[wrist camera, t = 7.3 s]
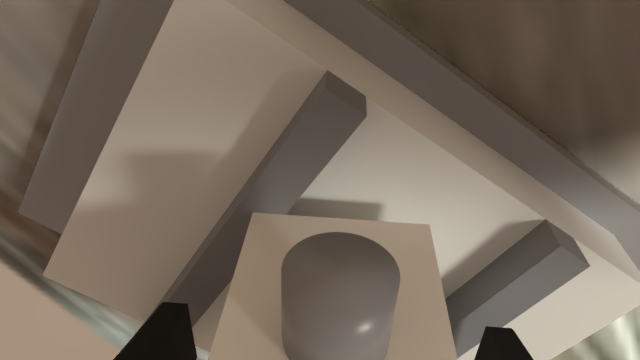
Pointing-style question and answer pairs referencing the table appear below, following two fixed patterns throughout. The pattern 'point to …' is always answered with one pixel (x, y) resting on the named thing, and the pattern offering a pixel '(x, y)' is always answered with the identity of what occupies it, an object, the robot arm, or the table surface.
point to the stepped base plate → (316, 167)
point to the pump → (334, 293)
